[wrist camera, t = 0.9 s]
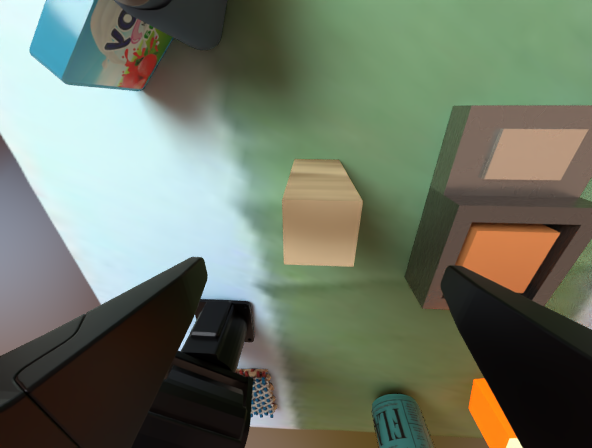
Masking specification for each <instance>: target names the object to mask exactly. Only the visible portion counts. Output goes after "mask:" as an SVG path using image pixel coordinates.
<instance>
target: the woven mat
mask: <svg viewBox="0 0 592 448" xmlns="http://www.w3.org/2000/svg"><path fill="white" fill-rule="evenodd" d="M243 372H244V373H245V374H243ZM265 372H268V369H256V370H254V369H237V370H236V373H238V374H241V375H244V376H246V377H248V376H249V377H252V378H253V391H252V405H251V417H253V414H252V413H253V412H254V415H255V414H256V415H258V413H259V414H260V417H263V415H262V413H264V414H265V415H268V413H269V414H270V417H271V418H273V413H274V412H275V410H276V408H277V405H276V404H274V403H272V402H274V401H275V400H276V399H275V397H274V396H273V395H272V394H273V392H272V391H273V390H274V387H273V385H272V384H271V383H270V384H269V382H268V381H270V379H271V376H270V375H269V374H265ZM260 373H262V374H260ZM255 377H257V378H255ZM261 377H262V378H261ZM264 390H265V391H264ZM270 390H271V391H270Z"/></svg>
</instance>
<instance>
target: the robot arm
mask: <svg viewBox="0 0 592 448" xmlns="http://www.w3.org/2000/svg"><path fill="white" fill-rule="evenodd" d="M206 282H207V270H206V266H205V262H204V259H203V258H202V257H191V258H189V259H187V260H185V261H183V262H181V263H179V264H177V265H175V266H174V267H172V268H170V269H168V270H166V271H164V272H162V273H160V274H158V275H157V276H155V277H153V278H151V279H149V280H147V281H145V282H143V283H141V284H140V285H138V286H136V287H134V288H132V289H130V290H128V291H126V292H125V293H123V294H121V295H119V296H117V297H115V298H113V299H111V300H109V301H108V302H106V303H104V304H102V305H100V306H98V307H96V308H94V309H93V310H91V311H89V312H87V313H86V314H83V315H81V316H79V317H77V318H75V319H74V320H72V321H70V322H68V323H66V324H64V325H62V326H61V327H58V328H56V329H54V330H52V331H50V332H48V333H47V334H45V335H43V336H41V337H39V338H36V339H34V340H32V341H30V342H28V343H26V344H24V345H22V346H20V347H18V348H16V349H14V350H12V351H10V352H8V353H6V354H3V355H2V356H0V448H244V447H245V444H246V441H247V437H248V432H249V427H250V419H251V405H252V391H253V378H252V377H249V376H248V377H246V376H244V375H241V374H238V373H236V370H237V366H238V363H239V359H240V355H241V352H242V348H243V345H244V342H253V341H254V329H253V321H252V314H251V306H250V303H249V302H247V301H230V300H206V299H201V296H202V293H203V290H204V287H205V284H206ZM440 287H441V291H442V293H443V295H444V298H445V300H446V302H447V305H448V307H449V310H450V312H451V314H452V317H453V319H454V321H455V324H456V326H457V328H458V330H459V332H460V334H461V336H462V338H463V340H464V341H465V343H466V345H467V347H468V349H469V351H470V352H471V354H472V356H473V358H474V360H475V362H476V363H477V365H478V367H479V369H480V371H481V373H482V374H483V376H484V378H485V380H486V382H487V384H488V385H489V387H490V389H491V391H492V393H493V395H494V396H495V398H496V400H497V402H498V404H499V406H500V407H501V409H502V411H503V413H504V415H505V417H506V418H507V420H508V422H509V424H510V426H511V428H512V429H513V431H514V433H515V435H516V437H517V439H518V440H519V442H520V444H521V446H522V448H592V330H591V329H589V328H587V327H585V326H583V325H581V324H579V323H577V322H575V321H573V320H571V319H569V318H567V317H565V316H563V315H560V314H558V313H556V312H554V311H552V310H550V309H548V308H546V307H544V306H542V305H540V304H538V303H536V302H534V301H532V300H530V299H528V298H526V297H524V296H522V295H520V294H518V293H516V292H514V291H512V290H510V289H508V288H506V287H504V286H502V285H500V284H498V283H496V282H494V281H491V280H489V279H487V278H485V277H483V276H481V275H479V274H477V273H475V272H473V271H471V270H469V269H467V268H465V267H463V266H458V265H450V266H448V267H447V268H446V270H445V273H444V275H443V278H442V280H441V284H440ZM194 315H195V316H196V322H195V324H194V326H193V328H192V330H191V332H190V335H189V336H188V338H187V340H186V342H185V344H184V346H183V348H182V350H181V351H178V349H179V347H180V345H181V343H182V341H183V339H184V337H185V334H186V332H187V330H188V328H189V326H190V324H191V322H192V320H193V318H194Z"/></svg>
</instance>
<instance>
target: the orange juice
mask: <svg viewBox="0 0 592 448" xmlns="http://www.w3.org/2000/svg"><path fill="white" fill-rule="evenodd" d="M469 410H470V412H471V414H472V416H473V418H474V419H475V421H476V423H477V425H478V427H479V429H480V431H481V433H482V434H483V436H484V438H485V440H486V442H487V444H488V446H489V448H522V446H521V444H520V442H519V440H518V439H517V437H516V435H515V433H514V431H513V429H512V428H511V426H510V424H509V422H508V420H507V418H506V417H505V415H504V413H503V411H502V409H501V407H500V406H499V404H498V402H497V400H496V398H495V396H494V395H493V393H492V391H491V389H490V387H489V385H488V384H487V382H486V380H485V379H474V381H473V387H472V392H471V398H470V404H469Z"/></svg>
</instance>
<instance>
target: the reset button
mask: <svg viewBox="0 0 592 448" xmlns="http://www.w3.org/2000/svg"><path fill="white" fill-rule="evenodd" d="M559 235H560V232H558V231H556V230H554V229H552V228H550V227H547V226H545V225H543V224H525V223H484V222H472V223H471V226H470V228H469V231H468V233H467V236H466V238H465V241H464V243H463V246H462V248H461V251H460V253H459V256H458V258H457V261H456V263H455V265H458V266H463V267H465V268H467V269H469V270H471V271H473V272H475V273H477V274H479V275H481V276H483V277H485V278H487V279H489V280H491V281H494V282H496V283H498V284H500V285H502V286H504V287H506V288H508V289H510V290H512V291H514V292H516V293H524V291H525V289H526V288H527V286H528V285H529V283H530V281H531V280H532V278H533V277H534V275H535V273H536V272H537V270H538V268H539V267H540V265H541V264H542V262H543V260H544V259H545V257H546V256H547V254H548V252H549V251H550V249H551V247H552V246H553V244H554V243H555V241H556V239H557V238H558V236H559Z"/></svg>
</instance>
